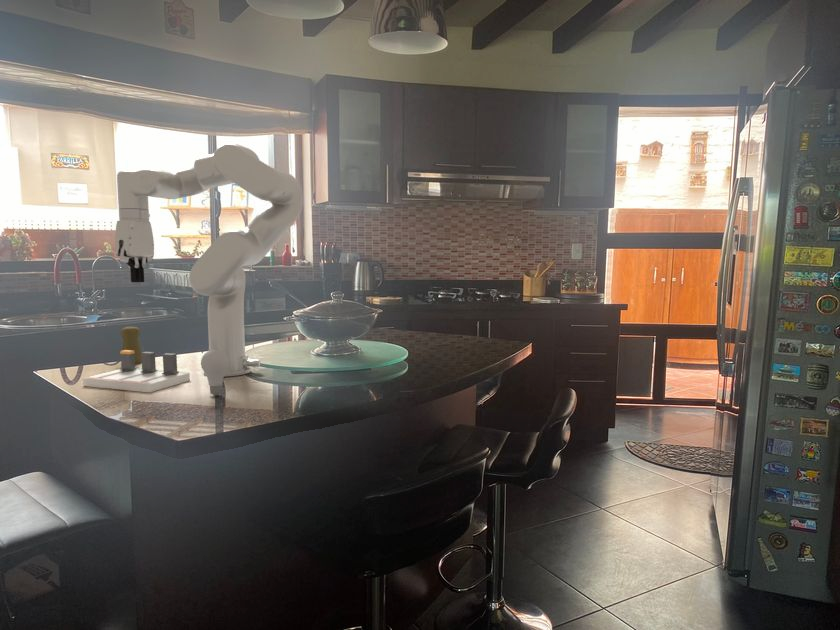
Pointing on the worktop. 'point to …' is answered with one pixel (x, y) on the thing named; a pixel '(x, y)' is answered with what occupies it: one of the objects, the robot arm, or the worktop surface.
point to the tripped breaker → (127, 360)
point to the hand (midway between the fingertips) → (137, 282)
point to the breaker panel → (135, 380)
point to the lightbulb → (214, 369)
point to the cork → (132, 342)
